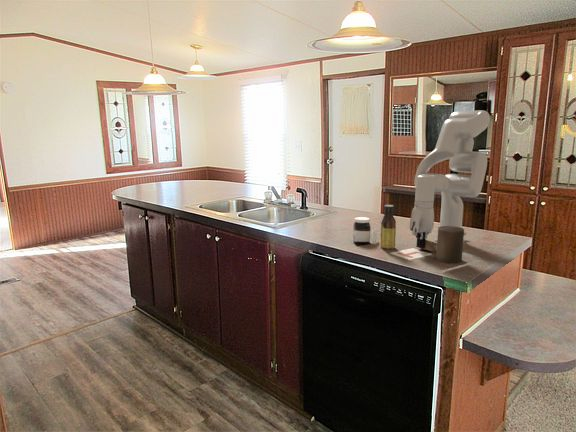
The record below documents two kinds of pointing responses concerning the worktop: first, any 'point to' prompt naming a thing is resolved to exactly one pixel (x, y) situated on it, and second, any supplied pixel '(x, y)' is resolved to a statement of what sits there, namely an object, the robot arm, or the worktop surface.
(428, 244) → the walnut block
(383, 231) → the sauce bottle
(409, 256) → the board
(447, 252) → the brown cylindrical pedestal
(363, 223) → the spread jar
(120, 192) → the worktop surface
